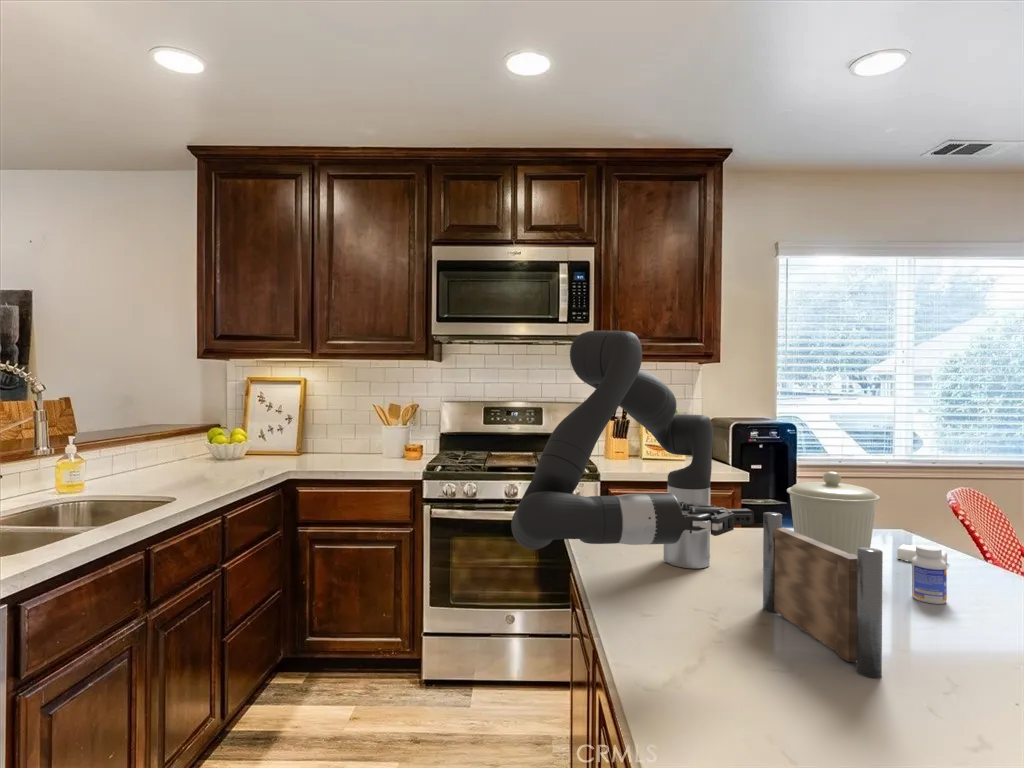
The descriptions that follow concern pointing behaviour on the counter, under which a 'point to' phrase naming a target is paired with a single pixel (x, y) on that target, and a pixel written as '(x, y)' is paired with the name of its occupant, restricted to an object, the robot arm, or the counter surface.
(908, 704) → the counter surface
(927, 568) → the pill bottle
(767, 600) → the gate posts
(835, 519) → the canister
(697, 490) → the robot arm
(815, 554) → the gate leaf
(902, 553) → the soap
